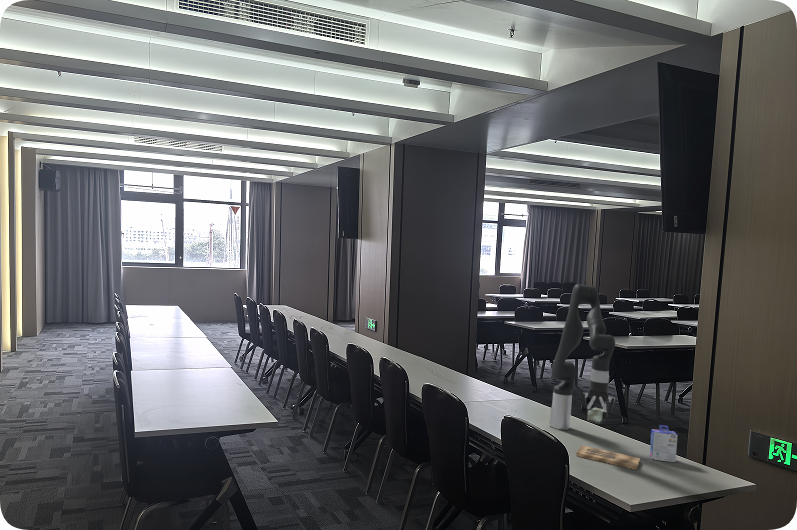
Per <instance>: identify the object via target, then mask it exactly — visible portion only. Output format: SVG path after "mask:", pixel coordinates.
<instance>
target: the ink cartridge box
mask: <svg viewBox="0 0 797 530" xmlns="http://www.w3.org/2000/svg"><path fill="white" fill-rule="evenodd" d="M650 432H651V433H650V448H649V458H651V460H653V459H654V460H655V461H662V462H663V461H664V462H667V463H676V462H677V461H676V460H677V448H678V447H677V445H678V436H679V435H678V433H676V432H675V431H673V430H672V431H671V430H670V429H669V426H668V425H662V424H659V429H653V428H652V429H651V431H650Z"/></svg>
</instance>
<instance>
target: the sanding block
mask: <svg viewBox="0 0 797 530" xmlns="http://www.w3.org/2000/svg"><path fill="white" fill-rule="evenodd" d="M603 412H604V410H603V408H600V407H599V408H598V407H593V408H591V410H589V411H588V416H587V418H586V419H587V420H586V421H587V422H589V423H594V424H598V425H600V424H601V423H603V422H604V421H603Z"/></svg>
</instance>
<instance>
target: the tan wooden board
mask: <svg viewBox="0 0 797 530" xmlns="http://www.w3.org/2000/svg"><path fill="white" fill-rule="evenodd" d="M575 455H576V457H578V456H579V458H583V459H587V458H588V460H591V461H597V462H600V461H601V463H604V462H606V463H605V464H608V463H610V464H609V465H613V464H614V465H613V466H617V465H619V466H618V467H621V466H623V467H622V468H625V467H627V468H626V469H630V468H632V469H631V470H634V469H635V470H634V471H637V470H638V467H639V464H640V463H641V458H640V457H636V456H631V455H627V454H623V453H620V452H619V453H618V452H613V451H609V450H605V449H600V448H596V447H591V446H587V445H581V446H580V448H578V449H577V452H576V454H575ZM639 462H640V463H639Z"/></svg>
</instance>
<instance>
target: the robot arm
mask: <svg viewBox="0 0 797 530" xmlns="http://www.w3.org/2000/svg"><path fill="white" fill-rule="evenodd" d="M598 291H599V290H598V289H597V288H596V286H594V285H590V284H588V285H587V284H578V283H576V284H575V285H574V287H572V292H571V296H570V301H569V307H568V313H567V316H566V319H565V323H564V325H563V330H562V333H561V338H560V342H559V344H558V345H559V346H558V350H557V352H556V354H555V357H554V359H553V361H552V362H553V363H552V365H551V373H550V374H551V377H552V378H553V379H554V380H557V381H561V382H560V383H559V384H557V385H554V386H553V391H552V403H551V407H550V414H549V415H550V416H549V427H551V428H553V429H557V430H564V431H565V430H567V431H568V430H569V429H570V426H571V415H572V404H573V403H572V401H573V392H574V390H575V389H574V388H575V382H576V381H575V380H576V376H577V375H576V374H577V373H576V372H577V371H576V366H575V364H574V362H571V361H566V360H567V359H568V357H569V355H570V354H571V353H572V352H573V351H574V350H575V349H576V348H577V347H578V346H579V345H580V343H581V341H582V337H583V334H584V325H583V322H582V320H581V317H580V315H579V306H580V304H581V305H589V306H590V307H591V308H590V311H589V312H588V314H587V315H586V325H587V327H588V330H589V331H588V332H589V346H590V348H591V350H594V351H601V352H602V354H599V355H594V356H593V357H592V360H591V371H590V376H589V380H590V381H589V390H588V392H585V391H584V392H582V393H581V400H582V406H583V408H585V409H586V416H587V417H588V411H589V410H591V409H592V406H593V404H598V405H601V407H602V409H603V410H604V412H603V422H605V421H607V419H608V413H610V412H612V410H613V407H614V404H615V401H616V397H611V396H609V384H610V382H609V381H610V374H609V373H610V372H609V371H610V361H611V358H612V355H613V352H614V350H615V347H616V340H615V338H614V336H613V335H611V334H606V333H607V328H606V324H605V322H604V319H603V316H602V311H601V304H600V303H601V302H600V297H599V292H598ZM588 397H589V399H590V401H589V403H588V404H587V398H588ZM607 400H608V402H609V405H608V406H609V407H607V403H606V401H607Z"/></svg>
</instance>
